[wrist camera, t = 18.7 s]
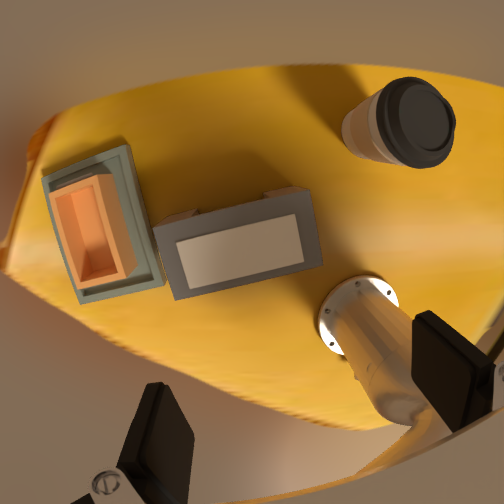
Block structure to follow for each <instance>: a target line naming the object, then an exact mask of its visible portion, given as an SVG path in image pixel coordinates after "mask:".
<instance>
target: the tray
mask: <svg viewBox="0 0 504 504" xmlns="http://www.w3.org/2000/svg"><path fill="white" fill-rule="evenodd" d="M89 173H93V176H95V175H100V174H113V177H114V181H115V185H116V189H117V193H118V197H119V201H120V205H121V208H122V212H123V216H124V220H125V223H126V227H127V230H128V234H129V237H130V240H131V244H132V247H133V250H134V254H135V257H136V260H137V263H138V266H137V267H136V268H135V269H134V270H133V271H132V272H131V273H130V275H129V276H128V277H127V278H125V279H120V280H116V281H112V282H108V283H104V284H100V285H95V286H91V287H87V288H83V289H79V290H78V289H77V287H76V284H75V281H74V279H73V276H72V273H71V270H70V267H69V264H68V261H67V258H66V255H65V252H64V249H63V246H62V242H61V239H60V236H59V232H58V229H57V225H56V222H55V218H54V214H53V211H52V207H51V203H50V198H49V193H51V192H54V191H56V190H57V189H56V187H57V186H58V185H61V184H63V183H66V182H68V181H71V180H73V179H76V178H78V177H81V176H83V175H86V174H89ZM41 180H42V185H43V189H44V193H45V198H46V202H47V206H48V210H49V213H50V217H51V221H52V224H53V228H54V231H55V235H56V238H57V241H58V244H59V248H60V251H61V254H62V257H63V260H64V263H65V266H66V269H67V271H68V274H69V277H70V280H71V282H72V285H73V288H74V290H75V293H76V296H77V298H78V301H79V303H80V305H81V304H86V303H90V302H95V301H99V300H104V299H108V298H113V297H117V296H121V295H126V294H130V293H135V292H139V291H143V290H148V289H152V288H156V287H161V286H164V285H165V283H166V281H167V279H166V276H165V273H164V269H163V266H162V263H161V260H160V257H159V253H158V250H157V247H156V243H155V240H154V237H153V233H152V230H151V226H150V223H149V219H148V216H147V212H146V208H145V205H144V201H143V197H142V193H141V189H140V185H139V181H138V177H137V173H136V169H135V165H134V161H133V156H132V152H131V148H130V145H126V144H125V145H122V146H119V147H116V148H113V149H111V150H108V151H105V152H103V153H100V154H97V155H95V156H92V157H90V158H87V159H85V160H82V161H80V162H77V163H75V164H72V165H70V166H68V167H65V168H63V169H61V170H58V171H56V172H54V173H52V174H49V175H47V176H45V177H43V178H41Z"/></svg>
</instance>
